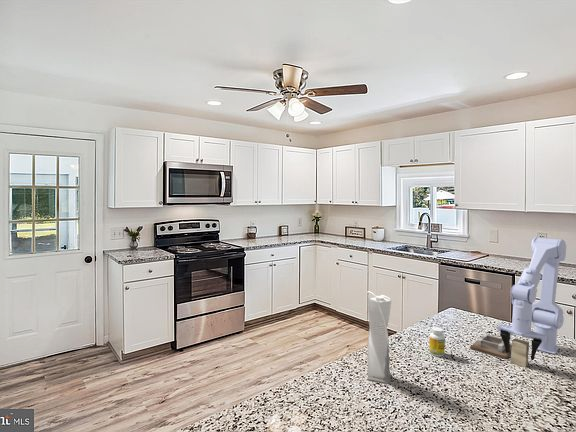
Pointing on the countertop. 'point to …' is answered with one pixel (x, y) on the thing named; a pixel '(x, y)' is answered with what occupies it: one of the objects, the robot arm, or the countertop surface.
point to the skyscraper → (378, 339)
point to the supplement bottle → (437, 342)
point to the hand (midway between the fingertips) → (519, 355)
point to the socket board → (491, 346)
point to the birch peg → (520, 352)
